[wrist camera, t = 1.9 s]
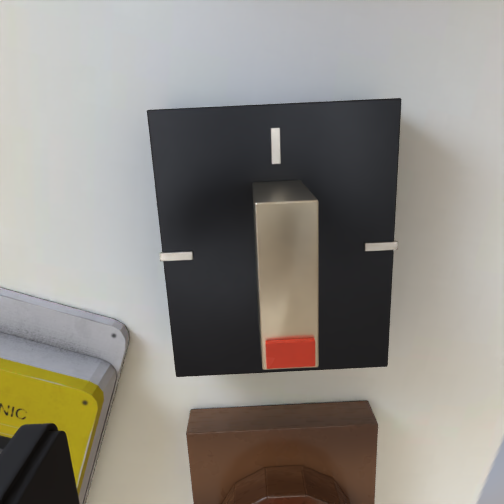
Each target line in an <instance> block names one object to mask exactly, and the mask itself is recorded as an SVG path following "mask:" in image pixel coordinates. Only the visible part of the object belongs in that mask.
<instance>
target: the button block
mask: <svg viewBox="0 0 504 504" xmlns="http://www.w3.org/2000/svg"><path fill="white" fill-rule="evenodd" d="M377 434H378V423H377V421H376V418H375V416H374V414H373V412H372V409H371V407H370V405H369V402H368V401H352V402H332V403H312V404H292V405H272V406H251V407H231V408H211V409H191V410H190V416H189V422H188V427H187V433H186V435H187V445H188V454H189V463H190V473H191V482H192V492H193V501H194V504H374V498H375V477H376V456H377Z"/></svg>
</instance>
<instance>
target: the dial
mask: <svg viewBox="0 0 504 504" xmlns="http://www.w3.org/2000/svg"><path fill="white" fill-rule="evenodd" d="M252 186H253V209H254V231H255V254H256V276H257V299H258V319H259V332H260V346H261V359H262V369H263V370H271V369H292V368H312V367H318V366H319V304H318V200H317V199H316V197H315V196H314V195H313V194H312V193H311V192H310V191H309V189H308V188H307V187H306V186H305V185H304V184H303V183H302V181H301V180H292V181H271V182H253V184H252Z"/></svg>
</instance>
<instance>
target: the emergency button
mask: <svg viewBox="0 0 504 504" xmlns="http://www.w3.org/2000/svg"><path fill="white" fill-rule="evenodd" d="M128 344H129V332H128V331H127V329H126V327H125V325H124V324H122V323H121V322H119V321H117V320H115V319H112V318H108V317H104V316H101V315H97V314H93V313H90V312H86V311H83V310H79V309H75V308H72V307H68V306H65V305H61V304H57V303H54V302H50V301H47V300H43V299H39V298H36V297H32V296H29V295H25V294H21V293H18V292H14V291H11V290H7V289H3V288H0V454H1V452H2V451H3V449H4V448H5V447H6V445H7V444H8V442H9V441H10V440H11V438H12V437H13V436H14V434H15V433H16V431H17V430H18V429H19V428H20V427H21V426H22V425H25V424H44V423H53V424H55V425H56V426H57V428H58V431H64V432H65V433H66V436H67V440H68V445H69V451H70V456H71V461H72V466H73V471H74V477H75V482H76V487H77V492H78V497H79V503H80V504H85V502H86V499H87V495H88V491H89V488H90V484H91V480H92V477H93V473H94V469H95V466H96V462H97V458H98V455H99V451H100V447H101V443H102V440H103V436H104V432H105V429H106V425H107V421H108V418H109V414H110V410H111V407H112V403H113V399H114V395H115V392H116V388H117V384H118V381H119V377H120V373H121V370H122V366H123V362H124V359H125V355H126V351H127V347H128Z"/></svg>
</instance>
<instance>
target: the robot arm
mask: <svg viewBox="0 0 504 504" xmlns="http://www.w3.org/2000/svg"><path fill="white" fill-rule="evenodd" d="M0 504H80V503H79V497H78V492H77V487H76V482H75V477H74V471H73V466H72V461H71V456H70V451H69V445H68V440H67V436H66V433H65V432H64V431H58V428H57V426H56V425H55V424H53V423H44V424H25V425H22V426H21V427H20V428H19V429H18V430H17V431H16V433H15V434H14V436H13V437H12V438H11V440H10V441H9V442H8V444H7V445H6V447H5V448H4V449H3V451H2V452H1V454H0Z"/></svg>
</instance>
